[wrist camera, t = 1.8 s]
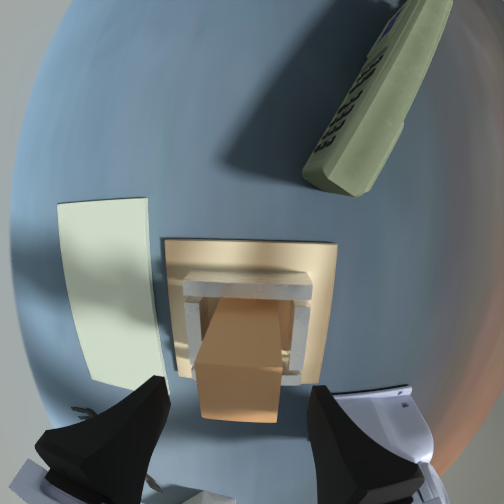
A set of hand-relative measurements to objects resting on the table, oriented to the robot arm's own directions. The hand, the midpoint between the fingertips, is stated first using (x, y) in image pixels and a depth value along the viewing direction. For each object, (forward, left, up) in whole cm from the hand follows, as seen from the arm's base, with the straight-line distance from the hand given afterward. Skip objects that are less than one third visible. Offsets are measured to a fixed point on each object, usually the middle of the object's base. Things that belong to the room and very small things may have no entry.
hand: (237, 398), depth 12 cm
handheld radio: (-11, -21, -9) cm, 25 cm away
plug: (0, 0, -8) cm, 8 cm away
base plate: (0, 0, -9) cm, 9 cm away
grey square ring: (0, 0, -9) cm, 9 cm away
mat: (+12, 0, -9) cm, 15 cm away
